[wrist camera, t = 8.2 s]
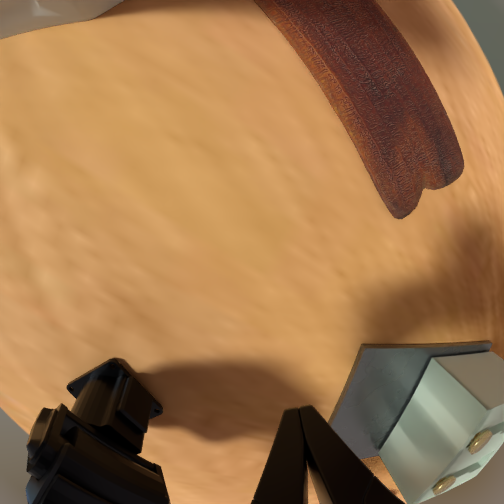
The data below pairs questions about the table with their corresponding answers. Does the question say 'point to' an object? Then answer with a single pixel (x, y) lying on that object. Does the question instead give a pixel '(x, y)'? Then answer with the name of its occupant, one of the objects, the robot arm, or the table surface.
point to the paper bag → (47, 13)
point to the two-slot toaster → (447, 424)
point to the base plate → (391, 395)
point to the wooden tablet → (375, 94)
